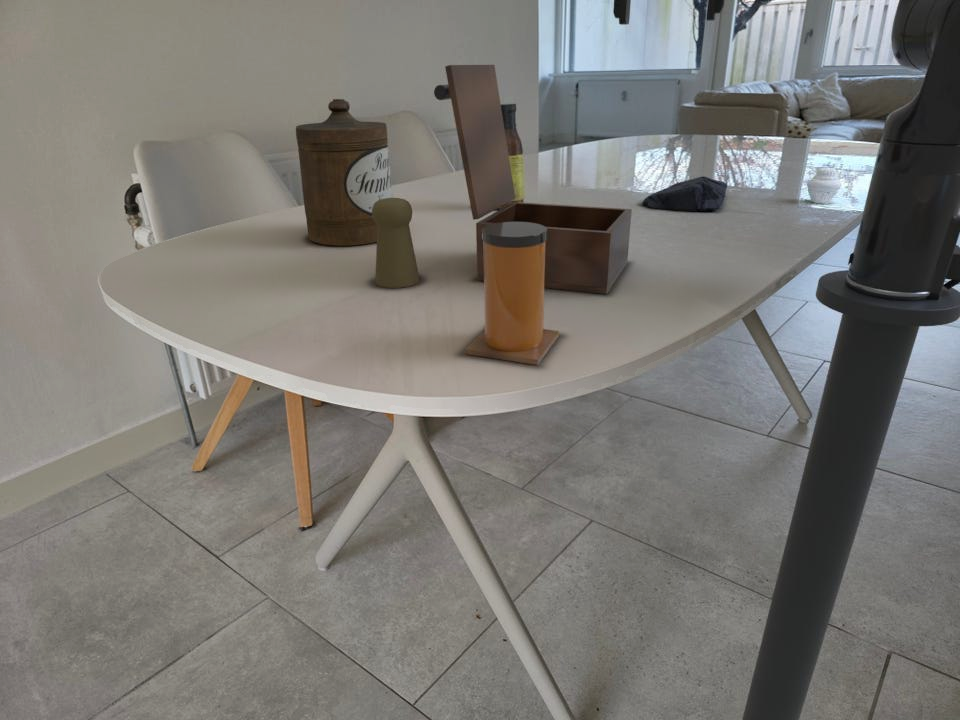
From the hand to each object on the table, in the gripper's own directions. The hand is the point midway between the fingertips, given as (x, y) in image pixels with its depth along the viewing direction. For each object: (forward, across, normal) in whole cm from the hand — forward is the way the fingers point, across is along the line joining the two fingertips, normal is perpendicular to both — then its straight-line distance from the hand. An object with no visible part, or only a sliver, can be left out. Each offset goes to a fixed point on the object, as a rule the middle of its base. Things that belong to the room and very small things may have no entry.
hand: (666, 22), depth 63 cm
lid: (+12, -23, +8) cm, 27 cm away
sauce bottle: (+30, -34, +47) cm, 65 cm away
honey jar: (+29, -10, -18) cm, 36 cm away
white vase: (+30, +25, +71) cm, 81 cm away
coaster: (+30, -10, -18) cm, 36 cm away
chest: (+30, -13, +8) cm, 34 cm away
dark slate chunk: (+30, 0, +65) cm, 72 cm away
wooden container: (+30, -52, +17) cm, 62 cm away
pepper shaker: (+30, -32, -3) cm, 44 cm away
